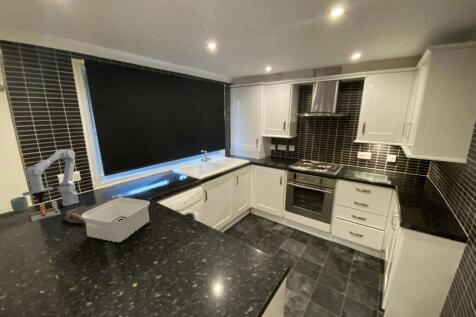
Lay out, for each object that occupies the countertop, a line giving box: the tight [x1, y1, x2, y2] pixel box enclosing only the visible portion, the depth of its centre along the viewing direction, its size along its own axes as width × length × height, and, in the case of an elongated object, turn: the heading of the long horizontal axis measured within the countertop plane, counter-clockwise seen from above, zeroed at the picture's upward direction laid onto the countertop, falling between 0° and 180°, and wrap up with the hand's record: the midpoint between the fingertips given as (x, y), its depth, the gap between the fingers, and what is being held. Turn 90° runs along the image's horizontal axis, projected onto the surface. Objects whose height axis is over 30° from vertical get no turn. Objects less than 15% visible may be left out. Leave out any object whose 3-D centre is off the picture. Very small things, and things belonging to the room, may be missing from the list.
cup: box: [10, 196, 29, 213], centre depth 141 cm, size 8×8×10 cm
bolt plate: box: [30, 209, 62, 222], centre depth 136 cm, size 14×8×1 cm, turn 139°
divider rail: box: [30, 200, 59, 217], centre depth 138 cm, size 14×11×6 cm
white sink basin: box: [81, 197, 151, 244], centre depth 118 cm, size 34×29×15 cm
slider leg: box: [39, 202, 47, 215], centre depth 138 cm, size 2×11×6 cm, turn 50°
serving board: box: [63, 196, 122, 226], centre depth 142 cm, size 39×23×6 cm, turn 160°
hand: (40, 202), depth 134 cm, fingers closed
